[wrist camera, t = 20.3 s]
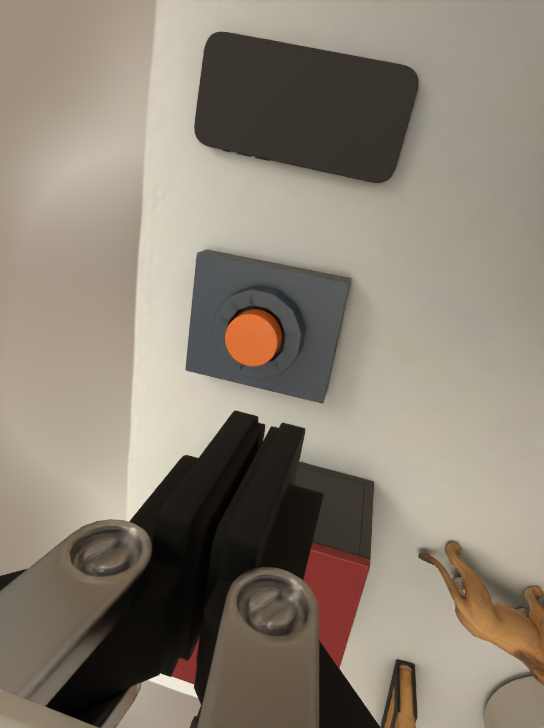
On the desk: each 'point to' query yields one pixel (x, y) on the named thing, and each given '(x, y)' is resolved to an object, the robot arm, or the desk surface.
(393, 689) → the ammunition clip
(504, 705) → the cylinder vase
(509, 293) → the desk surface
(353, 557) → the lid
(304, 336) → the control block
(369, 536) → the dark grey box
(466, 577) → the lion figurine
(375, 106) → the phone
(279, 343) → the button
